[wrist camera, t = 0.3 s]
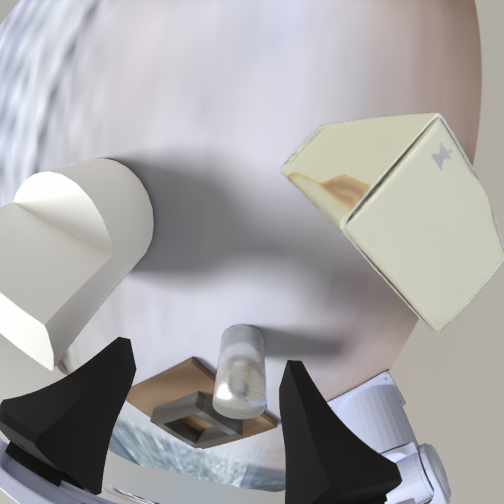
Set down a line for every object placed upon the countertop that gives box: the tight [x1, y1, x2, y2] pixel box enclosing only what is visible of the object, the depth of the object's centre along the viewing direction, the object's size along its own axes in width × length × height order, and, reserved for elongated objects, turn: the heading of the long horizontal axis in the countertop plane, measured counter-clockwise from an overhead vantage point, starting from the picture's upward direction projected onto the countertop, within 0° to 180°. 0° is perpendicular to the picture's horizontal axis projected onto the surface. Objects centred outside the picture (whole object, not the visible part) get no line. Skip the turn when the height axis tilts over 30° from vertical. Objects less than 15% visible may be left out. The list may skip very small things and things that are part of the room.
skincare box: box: [280, 113, 504, 335], centre depth 12 cm, size 6×4×12 cm
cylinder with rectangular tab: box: [0, 158, 154, 371], centre depth 13 cm, size 9×9×12 cm
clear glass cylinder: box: [213, 324, 267, 419], centre depth 19 cm, size 4×4×7 cm
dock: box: [126, 357, 277, 449], centre depth 25 cm, size 14×12×3 cm
